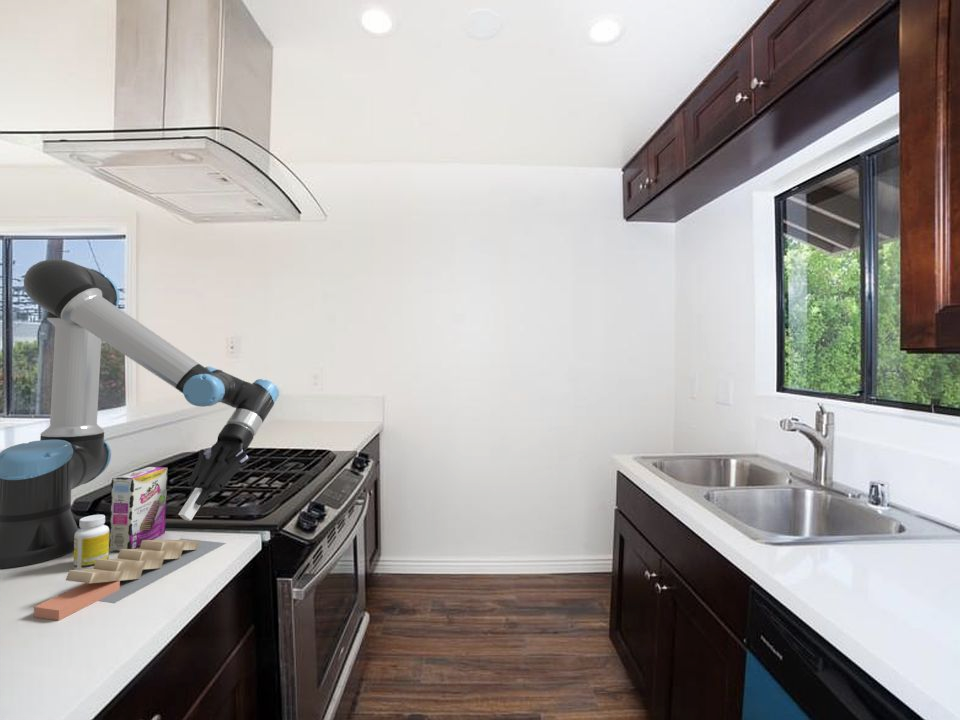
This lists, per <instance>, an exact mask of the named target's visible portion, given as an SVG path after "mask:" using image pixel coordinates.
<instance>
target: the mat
mask: <svg viewBox="0 0 960 720" xmlns="http://www.w3.org/2000/svg"><path fill="white" fill-rule="evenodd" d="M178 540H187V541H196V542H199V546H198V549H197V550H182V554H181V557H180V558H179V559H163V563H162V567H161V568H157V569H143V570H142V573H141V576H140V579H131V580H121V581H120V589H119V590H117V591H115V592H114V593H112V594H110V595H108V596H106V597H104V598H102V599H100V600H98V601H97V602H104V603H112V604H117V602H120V601H121V600H123V599H125V598H126V597H127V598H128V597H129V596H131V595H133V594H135V593H136V592H139V591H140V590H141V589H144V588H146V587H147V586H150V585H151V584H153V583H156V582H157V581H158V580H160V579H163V578H164V577H166V576H168V575H170V574H172V573H174V572H176V571H177V570H180V569H181V568H183V567H185V566H187V565H189V564H190V563H192V562H194V561H197V560H198V559H200V558H201V557H203V556H205V555H208V554H209V553H211V552H213V551H215V550H216V549H218V548H220V547H222V546H224V545H226V544H227V542H220V541H211V540H210V541H209V540H201V539H190V538H182V537H181V538H179V539H178ZM83 584H85V583H81V584H79V585H76V586H75V587H73V588H71V589H68V590H65V591H64V592H62V593H59V594H58V596H59V595H61V594H63V593H65V592H67V591H70V590H72V589H74V588H76V587H78V586H80V585H83Z"/></svg>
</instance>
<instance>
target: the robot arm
mask: <svg viewBox="0 0 960 720" xmlns="http://www.w3.org/2000/svg"><path fill="white" fill-rule="evenodd" d="M23 288H24V291H25V293H26V295H27V296H28V298H29V299H30V300H31V301H32V302H34V303H35V304H37V305H38V306H39V307H41V308H42V309H44V310H46V311H47V313H46V320H47V321H48V322H49V323H51V324H52V326H54V344H53V345H54V346H53V349H54V350H53V364H52V383H51V399H50V400H51V402H50V418H49V419H50V420H49V421H50V422H49V426H48V427H47V428H46V429H44V430H43V431H42V432H41V433H40V437H39V439H40V440H33V441H29V442H24V443H18V444H15V445H12V446H9V447H7V448H4V449H3V450H2V451H1V452H0V569H9V568H10V569H11V568H17V567H23V566H29V565H34V564H38V563H42V562H46V561H49V560H52V559H56V558H58V557H61V556H64V555H66V554H68V553H70V552H74V535H75V533H76V532H77V531H78V530H79V528H78V525H77V522H76V520H75V519H74V515H73V513H72V510H71V509H72V490H74V489H76V488H78V487H80V486H82V485H85V484H87V483H90V482H92V481H94V480H95V479H96V478H98V477H99V476H100V475H101V474H102V473H103V472H105V470H106V469H107V468H108V467H109V465H110V462H111V459H112V450H111V447H110V445H109V444H108V443H107V442H106V441H105V430H104V428H102V427H101V426H100V425H98V413H99V412H98V410H99V409H98V408H99V407H98V406H99V391H100V390H99V389H100V388H99V387H100V369H101V352H102V351H101V350H102V342H105V344H108V345H109V346H110V347H112V348H114V349H115V350H117V351H118V352H119V353H121V354H123V355H124V356H125V357H127V358H129V359H130V360H132V361H133V362H134V363H136V364H138V365H139V366H141V367H142V368H144V370H145V369H146V370H147V371H148V372H150V373H152V374H153V375H155V376H156V377H158V379H161V380H162V381H163V382H166V383H167V384H168V385H170V386H171V387H172V388H174V389H176V390H177V391H179V392H180V393H182V394H183V396H184V398H185V400H186V401H187V402H188V404H190V405H192V406H196V407H211V406H214V405H216V404H217V403H221V404H225V405H227V406H230V407H232V408H234V411H233V413H232V414H231V415H230V417H229V418H228V420H227V422H226V424H224V426H223V428H222V429H221V430H220V432H219V433H218V435H217V441H216V442H215V443H214V444H213V445H212V446H211V448H210V449H207V450H204V449H200V450H199V451H198V458H197V461H196V464H195V465H194V468H193V470H192V473H191V475H190V476H189V480H188V482H187V485H188V486H190V487H191V491H190V493H189V494H188V495H187V496H186V498H185V503H184V505H183V506H182V508H181V510H180V511H179V513H178V516H180V518H182V519H183V520H185V521H192V520H193V518H194V516H195V515H196V513H197V512H198V511H199V509H200V507H201V506H203V505H204V504H205V502H206V501H207V499H208V498H209V496H210V495H211V494H212V493H214V492H221V491H222V490H223V489H224V487H225V486H226V485H227V484H228V482H230V480H231V479H232V478H233V477H234V476H235V475H236V474H237V473H238V471H239V470H240V469H241V468H242V467H243V466H244V465H245V464H246V463H247V462H249V461H250V457H249V456H248V455H247V454H246V452H245V451H246V450H248V448H249V447H250V445H251V443H252V441H253V439H254V437H255V436H256V435H257V433H258V431H259V430H260V428H261V426H262V425H263V424H264V422H265V420H266V418H267V416H268V415H269V413H270V412H271V410H272V409H273V407H274V405H275V403H276V401H277V399H278V398H279V395H280V389H279V388H278V386H277V385H276V384H275V383H274V382H272V381H270V380H268V379H262V378H259V379H258V378H257V379H256V380H255V381H253V382H252V383H251V382H249V381H246V380H243V379H241V378H239V377H236V376H234V375H232V374H230V373H227V372H225V371H223V370H222V369H217V368H215V367H212V366H203V365H201V364H200V363H199V362H198V361H196V360H195V359H193V358H192V357H191V356H189V355H187V354H186V353H185V352H183V351H182V350H180V349H179V348H178V347H175V346H174V345H173V344H171V343H170V342H169V341H167V340H166V339H164V338H162V336H160V335H158V334H156V333H155V332H154V331H152V330H151V329H149V327H146V326H145V325H144V324H142V323H141V322H139V321H138V320H136V319H135V318H133V317H132V316H131V315H129V314H128V313H126V312H125V311H123V310H122V309H120V308H119V307H118V306H119V303H120V291H119V288H118V286H117V285H116V284H115V282H114V281H113V280H112V279H111V278H110V277H108V276H106V275H105V274H104V273H102V272H100V271H99V270H97V269H93V268H89V267H85V266H83V265H80V264H77V263H75V262H72V261H69V260H67V259H66V260H65V259H59V258H58V259H57V258H55V259H54V258H50V259H45V260H41V261H38V262H36V263H34V264H32V265H31V266H30V267H29V268H28V270H27V271H26V273H25V274H24V276H23Z"/></svg>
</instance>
